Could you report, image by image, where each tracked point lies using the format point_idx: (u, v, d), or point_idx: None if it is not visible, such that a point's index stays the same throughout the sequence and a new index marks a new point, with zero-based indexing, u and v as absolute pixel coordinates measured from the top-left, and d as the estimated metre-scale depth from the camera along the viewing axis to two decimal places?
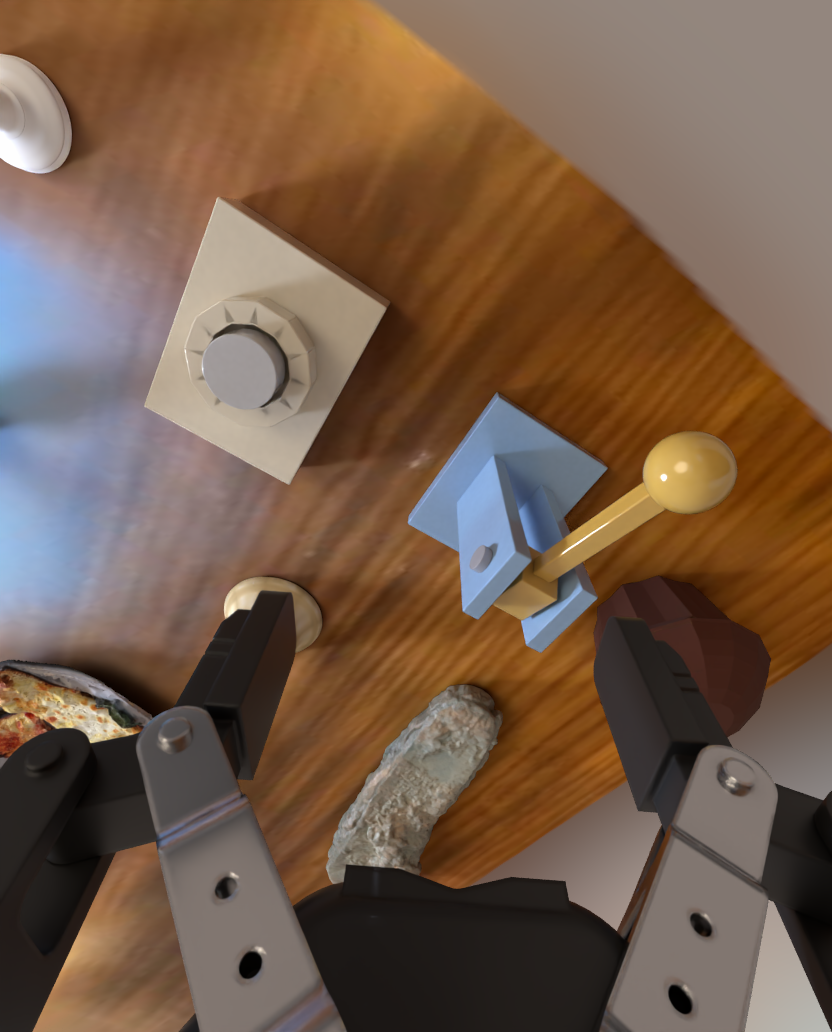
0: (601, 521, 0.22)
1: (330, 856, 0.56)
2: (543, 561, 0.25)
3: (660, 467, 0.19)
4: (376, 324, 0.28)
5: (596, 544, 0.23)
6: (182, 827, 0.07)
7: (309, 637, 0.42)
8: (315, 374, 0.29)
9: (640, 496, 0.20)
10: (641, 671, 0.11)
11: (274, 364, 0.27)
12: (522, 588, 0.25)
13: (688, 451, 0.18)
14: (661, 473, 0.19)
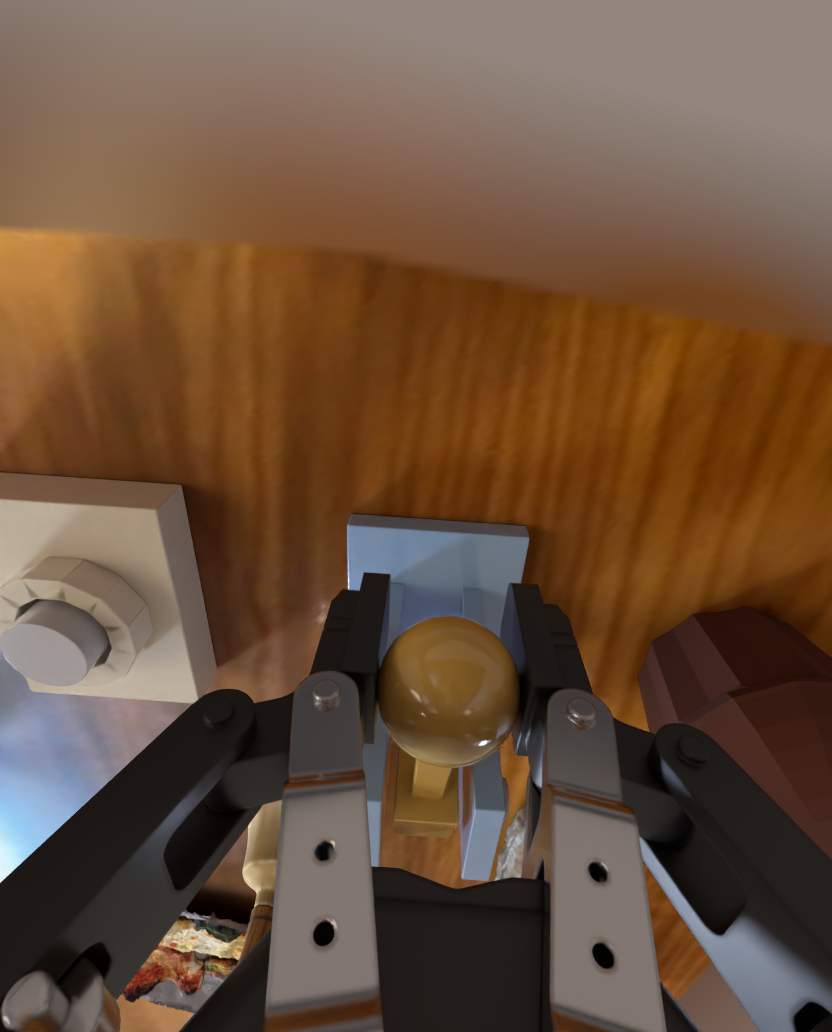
0: None
1: None
2: (412, 781, 0.17)
3: (381, 716, 0.11)
4: (158, 529, 0.24)
5: (436, 770, 0.15)
6: (307, 779, 0.08)
7: None
8: (136, 604, 0.25)
9: None
10: (521, 628, 0.11)
11: (65, 634, 0.23)
12: (405, 823, 0.17)
13: (393, 692, 0.10)
14: (385, 726, 0.11)
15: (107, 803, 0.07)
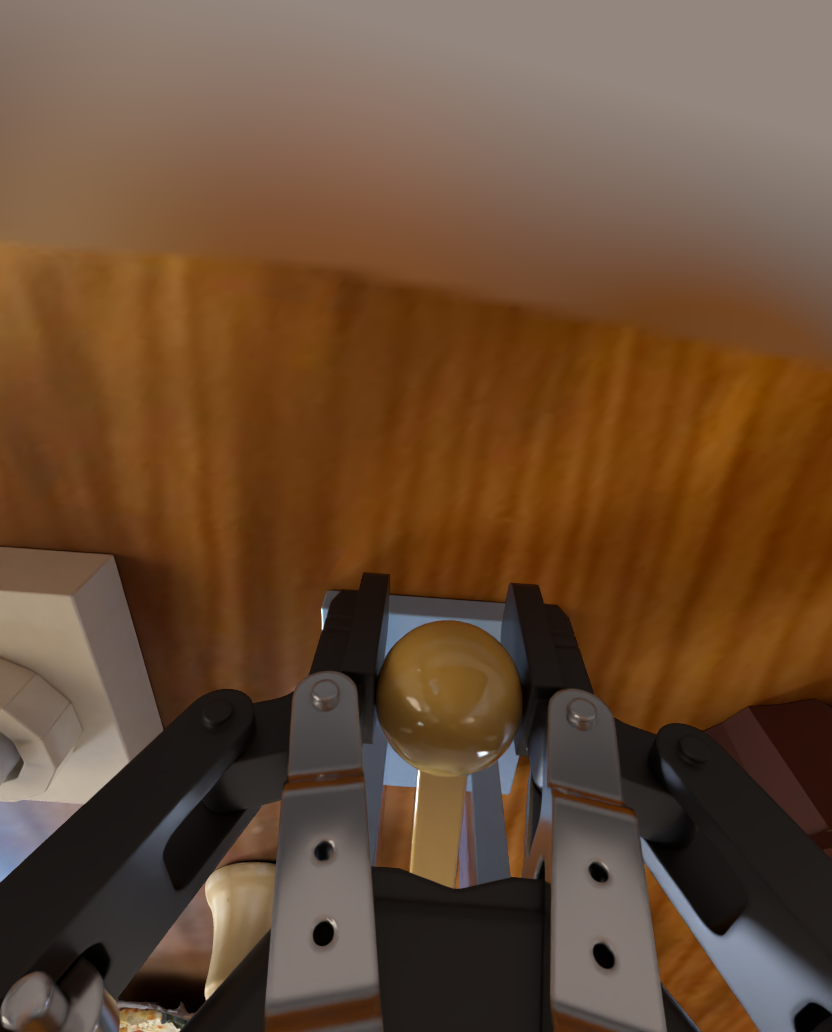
0: (411, 841, 0.12)
1: None
2: None
3: (379, 714, 0.10)
4: (77, 619, 0.18)
5: None
6: (306, 779, 0.08)
7: None
8: (56, 706, 0.20)
9: (417, 771, 0.11)
10: (522, 628, 0.11)
11: None
12: None
13: (395, 667, 0.10)
14: (384, 724, 0.10)
15: (106, 803, 0.07)
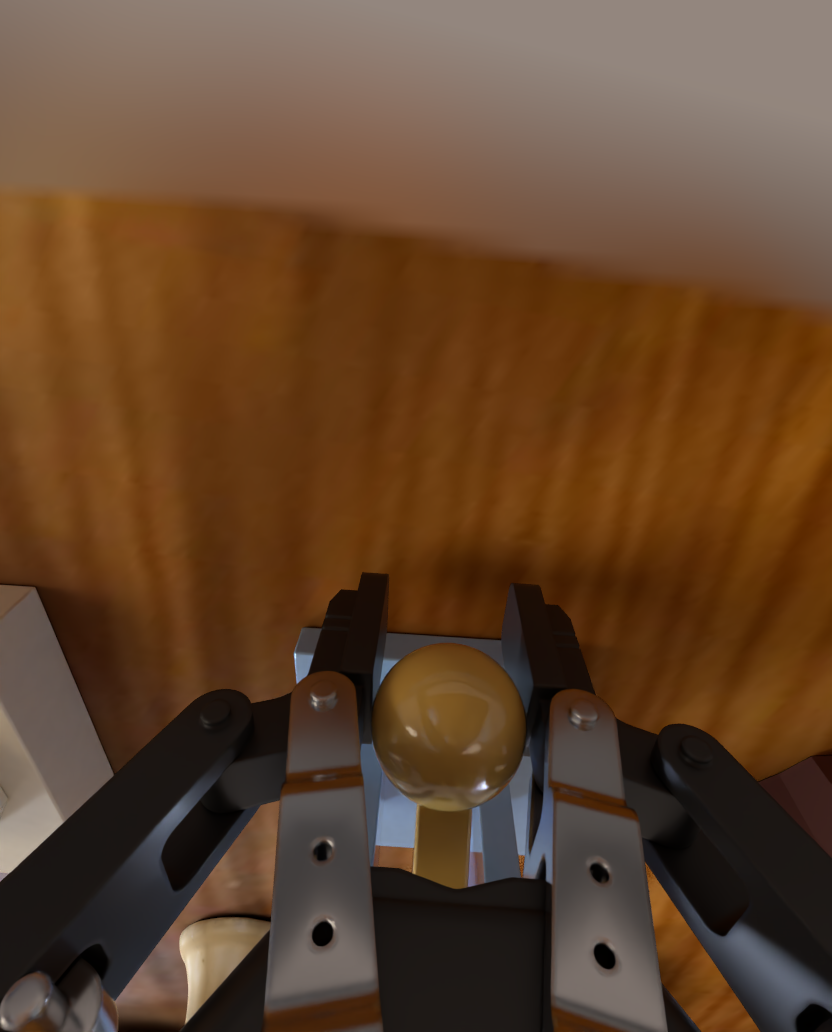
0: None
1: None
2: None
3: (376, 735, 0.10)
4: None
5: None
6: (305, 779, 0.08)
7: None
8: None
9: (416, 817, 0.10)
10: (523, 629, 0.11)
11: None
12: None
13: (392, 680, 0.10)
14: (381, 744, 0.10)
15: (104, 804, 0.07)
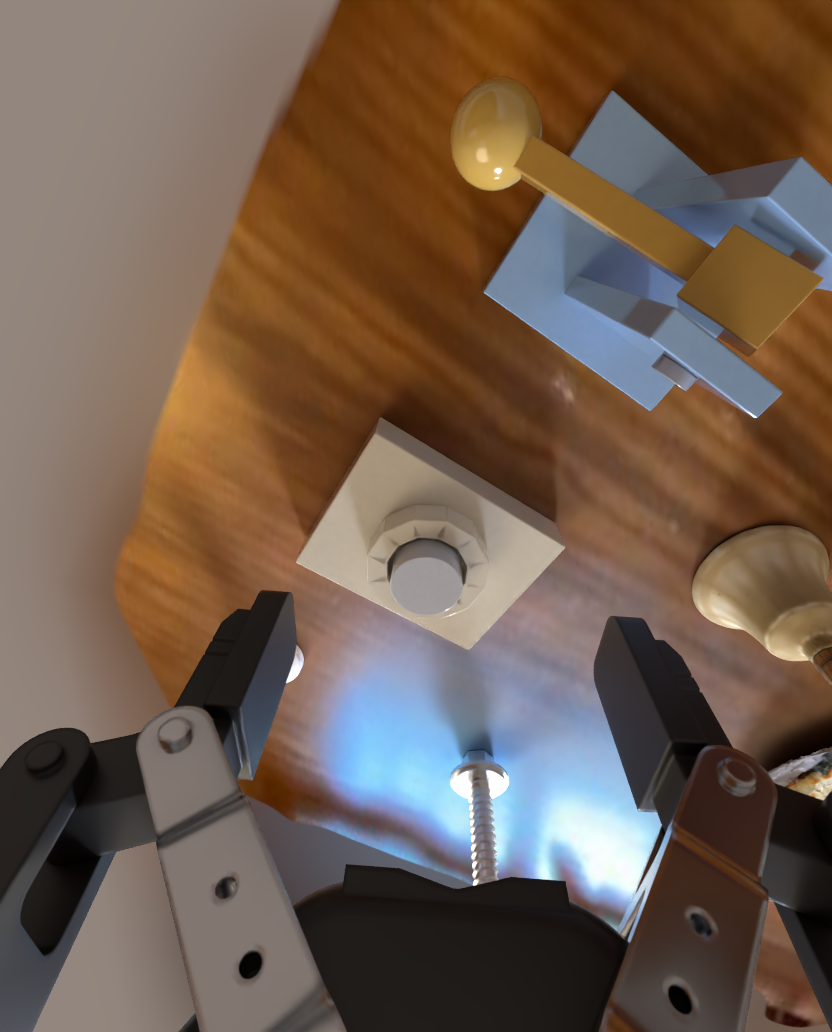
0: (571, 207, 0.17)
1: None
2: (667, 271, 0.16)
3: (466, 171, 0.18)
4: (391, 443, 0.27)
5: (606, 200, 0.16)
6: (182, 827, 0.07)
7: (806, 547, 0.31)
8: (440, 509, 0.28)
9: (521, 175, 0.17)
10: (641, 671, 0.11)
11: (417, 556, 0.27)
12: (701, 291, 0.15)
13: (451, 152, 0.18)
14: (468, 167, 0.17)
15: None
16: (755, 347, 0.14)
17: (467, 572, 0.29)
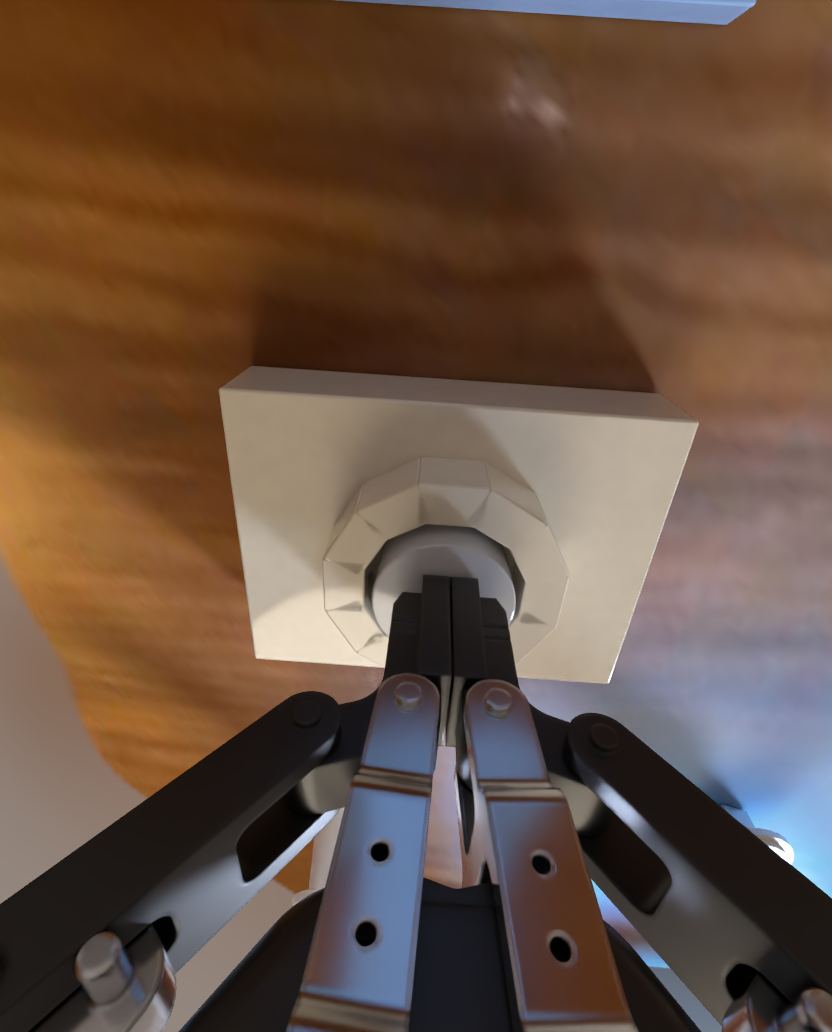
0: None
1: None
2: None
3: None
4: (257, 393, 0.14)
5: None
6: (376, 776, 0.08)
7: None
8: (407, 468, 0.14)
9: None
10: (454, 621, 0.12)
11: (393, 559, 0.13)
12: None
13: None
14: None
15: (195, 782, 0.08)
16: None
17: (517, 561, 0.14)
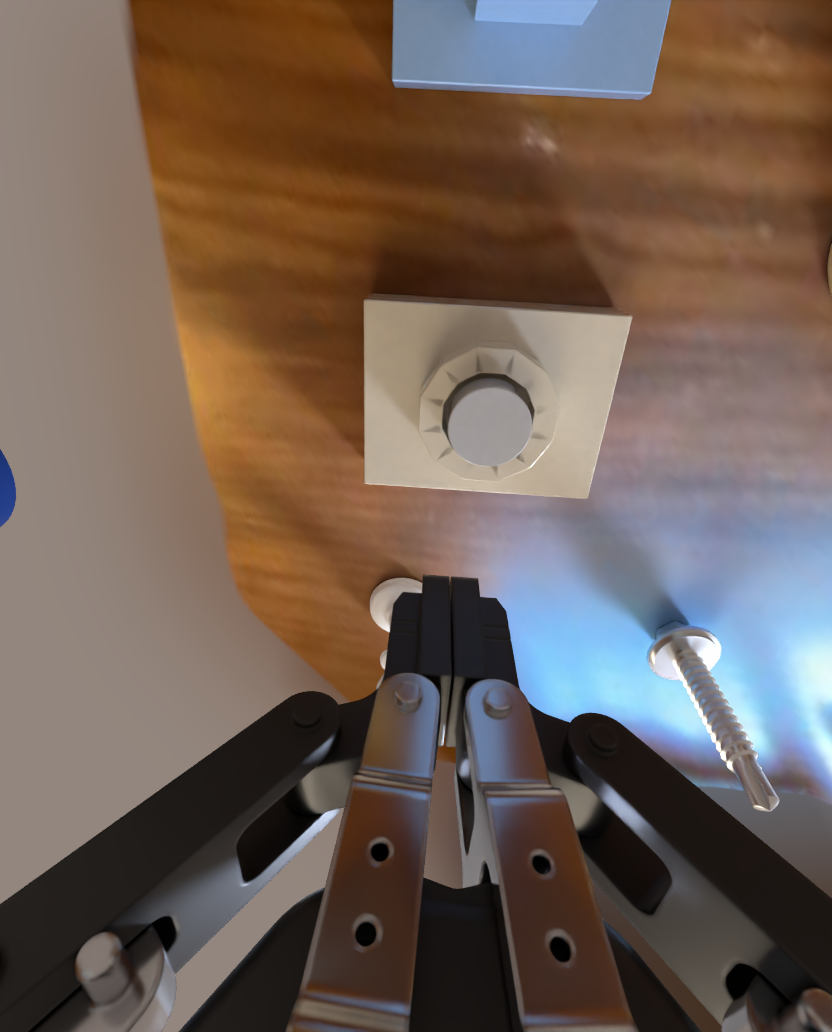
0: None
1: None
2: None
3: None
4: (385, 302, 0.25)
5: None
6: (376, 776, 0.08)
7: None
8: (468, 344, 0.25)
9: None
10: (454, 621, 0.12)
11: (462, 397, 0.23)
12: None
13: None
14: None
15: (195, 782, 0.08)
16: None
17: (530, 396, 0.25)
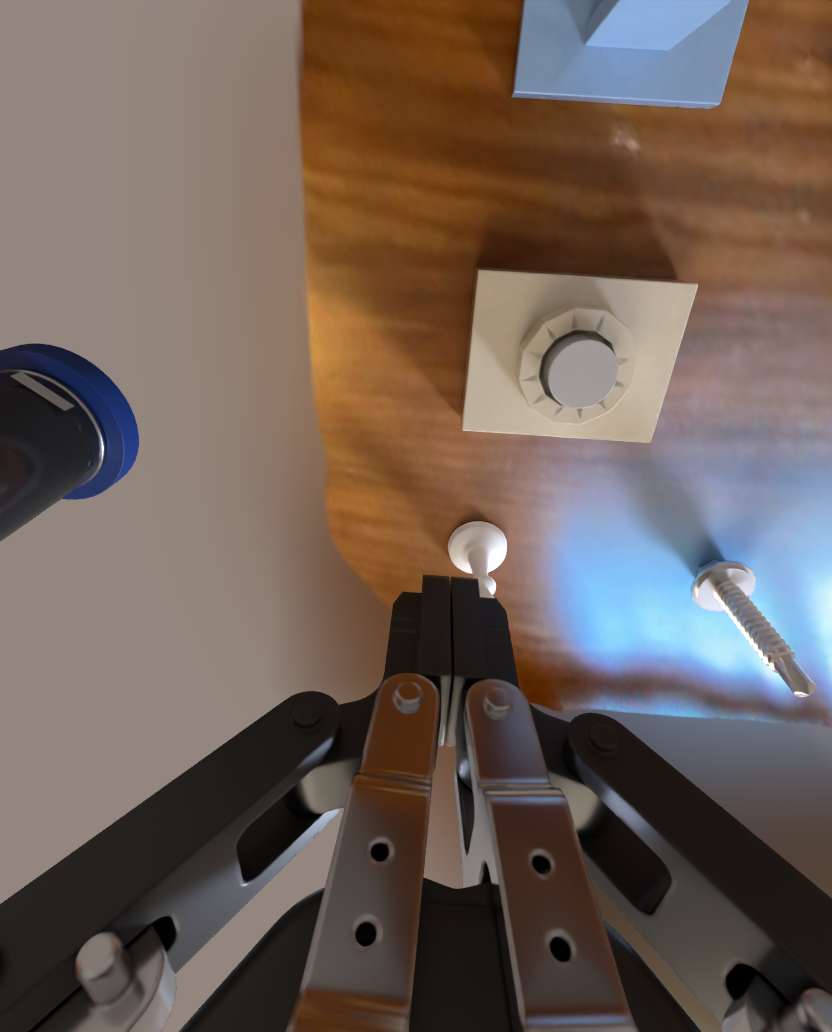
0: None
1: None
2: None
3: None
4: (496, 272, 0.30)
5: None
6: (376, 776, 0.08)
7: None
8: (563, 307, 0.30)
9: None
10: (454, 621, 0.12)
11: (562, 348, 0.29)
12: None
13: None
14: None
15: (195, 782, 0.08)
16: None
17: (614, 349, 0.30)
